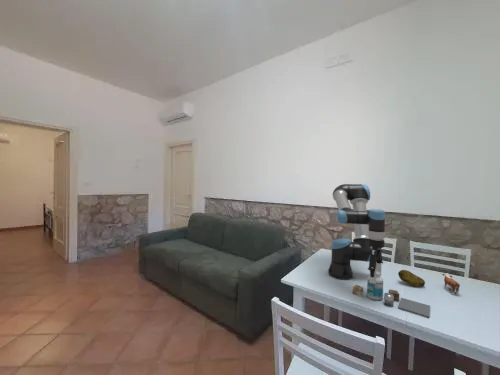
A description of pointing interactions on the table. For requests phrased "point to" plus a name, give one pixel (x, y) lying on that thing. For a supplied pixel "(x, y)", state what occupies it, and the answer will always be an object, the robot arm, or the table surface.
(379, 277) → the pill bottle
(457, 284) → the bull figurine
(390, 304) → the grey egg shape
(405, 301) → the coaster
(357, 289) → the beech cube
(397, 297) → the walnut cube
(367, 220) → the robot arm
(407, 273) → the potato
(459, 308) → the table surface
